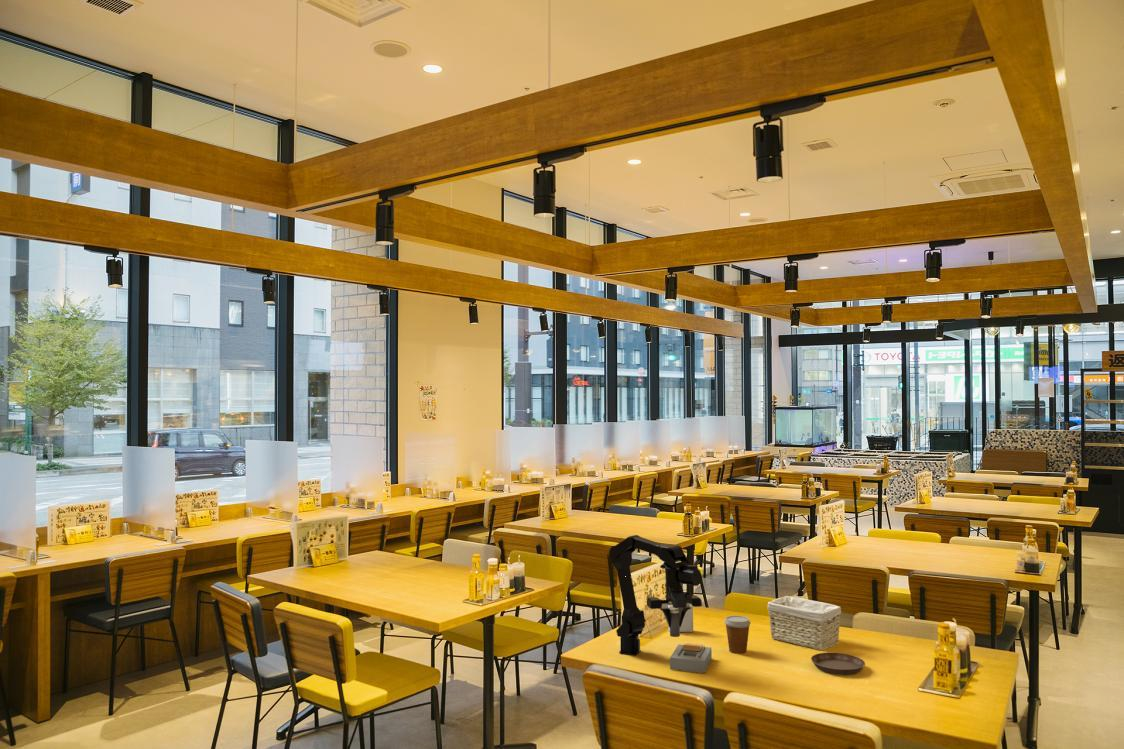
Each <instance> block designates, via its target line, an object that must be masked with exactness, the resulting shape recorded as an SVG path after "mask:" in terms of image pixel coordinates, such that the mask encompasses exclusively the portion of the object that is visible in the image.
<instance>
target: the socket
mask: <svg viewBox="0 0 1124 749" xmlns="http://www.w3.org/2000/svg"><path fill="white" fill-rule="evenodd" d="M712 656H713V655H712V647H711V646H710V647H709V646H705V645H703V647H702V649H701V651H692V650H683V644H679V643H678V644H677V646H676V647H675V649H674V650H673V652H672V653H671V655H670V657H669V670H673V671H683V672H689V673H690V672H692V673H701V674H706V671H707V669H708V667H709V665H710V663H711V661H712Z"/></svg>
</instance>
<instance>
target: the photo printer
mask: <svg viewBox="0 0 1124 749" xmlns="http://www.w3.org/2000/svg"><path fill="white" fill-rule="evenodd" d="M690 607H691V609H689V610H687V612H686V613H685V616H684V619H683V622H682V625H681V627H680V633H693V632H694V607H693V606H692V605H691V604H690ZM668 608H669V609H678V608H674V607H673V605H668ZM667 626H668V625H667ZM667 628H668V631H667V632H669V633H670V627H669V626H668V627H667Z"/></svg>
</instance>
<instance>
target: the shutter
mask: <svg viewBox="0 0 1124 749" xmlns="http://www.w3.org/2000/svg"><path fill="white" fill-rule="evenodd" d="M682 645H683V650H692V651H701V649H702V647H703V646H704V645H703V644H698V643H687V642H686V643H683V644H682Z"/></svg>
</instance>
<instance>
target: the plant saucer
mask: <svg viewBox="0 0 1124 749" xmlns="http://www.w3.org/2000/svg"><path fill="white" fill-rule="evenodd" d="M810 659H811V662H812V663H813V664H814V666H815V667H816V668H817V669H818V670H819V671H821V672H823V673H826V674H830V675H836V676H853V675H857V674H858V673H860V672H861V671H862V670H863V669H864V667H865V666H866V662H865V661H864V659H862V658H861V657H858V656H855V655H852V654H849V653H847V654H846V653H842V652H841V653H840V652H820V653H816V654H814V655H812V656H811V657H810Z"/></svg>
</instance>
